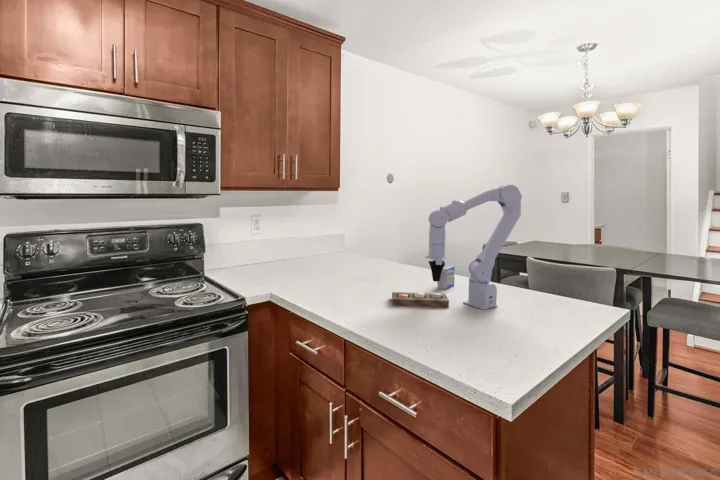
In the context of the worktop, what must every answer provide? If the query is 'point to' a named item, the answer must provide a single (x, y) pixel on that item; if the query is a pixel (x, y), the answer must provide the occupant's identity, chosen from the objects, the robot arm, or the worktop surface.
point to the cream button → (418, 295)
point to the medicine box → (446, 278)
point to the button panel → (419, 300)
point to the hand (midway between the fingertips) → (436, 281)
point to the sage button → (435, 295)
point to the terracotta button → (403, 295)
